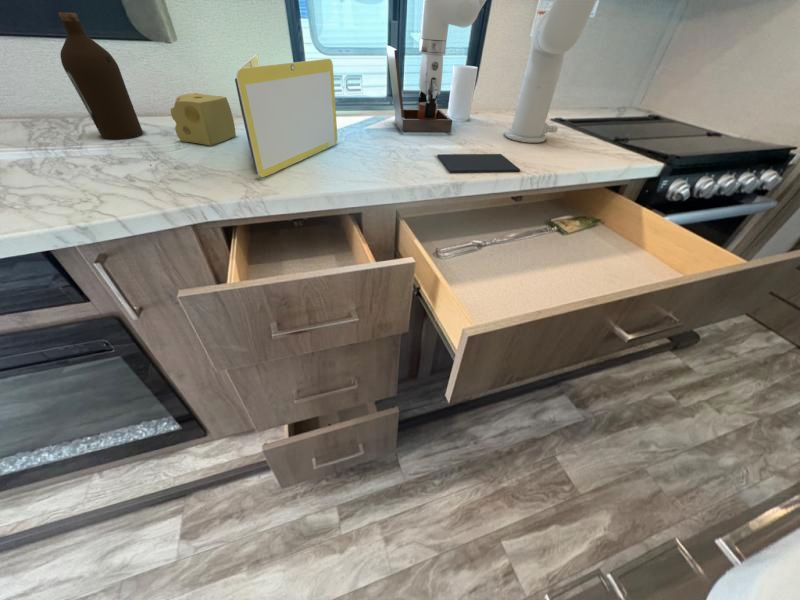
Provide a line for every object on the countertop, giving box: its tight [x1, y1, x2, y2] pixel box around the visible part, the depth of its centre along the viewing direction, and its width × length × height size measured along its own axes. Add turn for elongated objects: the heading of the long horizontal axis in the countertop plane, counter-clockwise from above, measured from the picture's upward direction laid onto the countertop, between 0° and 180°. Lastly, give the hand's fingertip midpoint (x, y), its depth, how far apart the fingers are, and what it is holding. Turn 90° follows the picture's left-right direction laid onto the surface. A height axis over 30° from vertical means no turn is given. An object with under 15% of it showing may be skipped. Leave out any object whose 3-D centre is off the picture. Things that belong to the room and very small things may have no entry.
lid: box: [386, 45, 404, 118], centre depth 100 cm, size 16×15×1 cm
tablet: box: [234, 53, 338, 178], centre depth 78 cm, size 35×22×20 cm, turn 14°
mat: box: [437, 153, 521, 174], centre depth 85 cm, size 18×12×1 cm, turn 100°
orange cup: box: [417, 102, 439, 119], centre depth 107 cm, size 6×6×7 cm
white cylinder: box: [446, 64, 478, 121], centre depth 117 cm, size 8×8×16 cm
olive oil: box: [57, 12, 144, 140], centre depth 82 cm, size 11×11×25 cm
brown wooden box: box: [394, 108, 453, 134], centre depth 108 cm, size 16×15×4 cm
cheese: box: [170, 92, 237, 147], centre depth 87 cm, size 10×11×10 cm
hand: (425, 114), depth 107 cm, fingers open, 9 cm apart
